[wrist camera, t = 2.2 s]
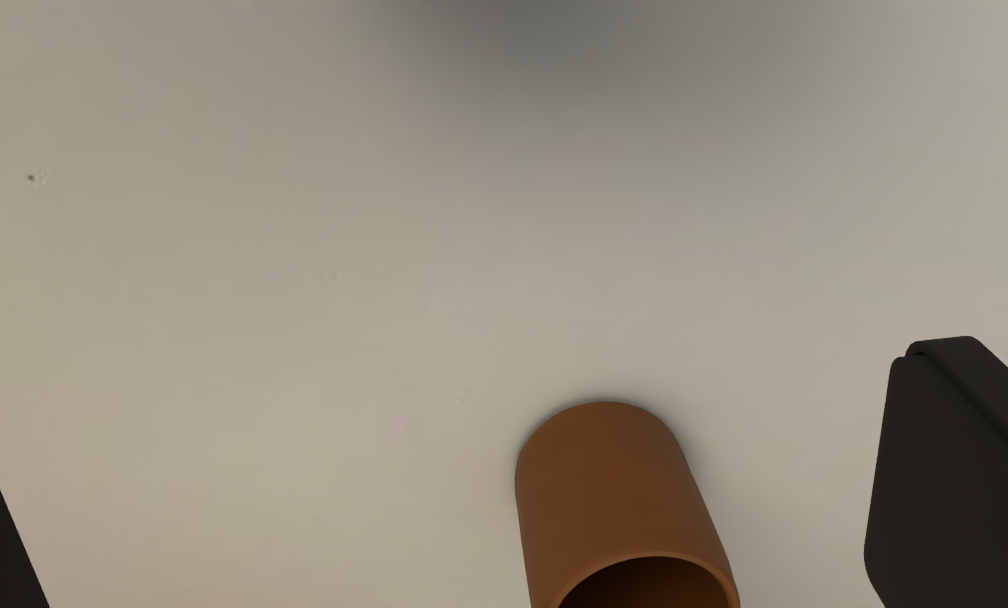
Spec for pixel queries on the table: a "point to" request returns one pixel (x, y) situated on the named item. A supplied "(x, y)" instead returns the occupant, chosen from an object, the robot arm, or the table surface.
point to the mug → (616, 516)
